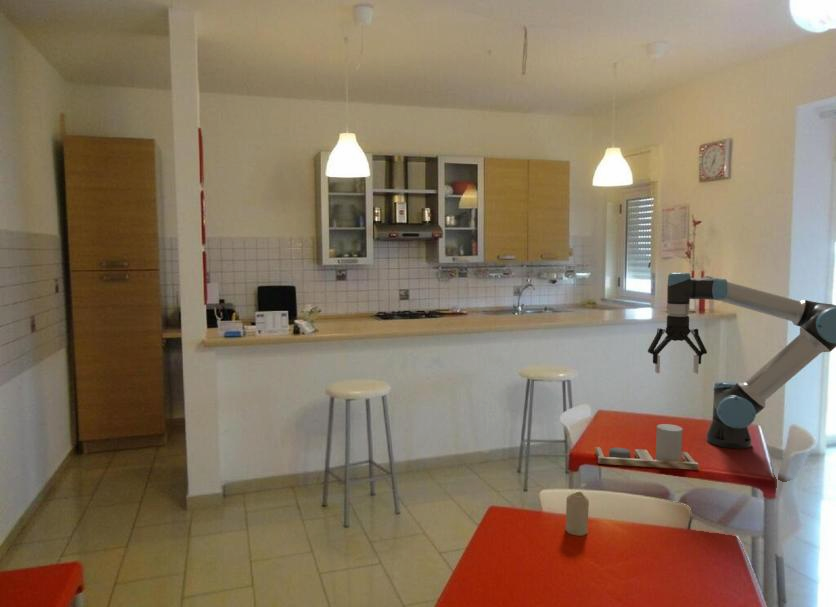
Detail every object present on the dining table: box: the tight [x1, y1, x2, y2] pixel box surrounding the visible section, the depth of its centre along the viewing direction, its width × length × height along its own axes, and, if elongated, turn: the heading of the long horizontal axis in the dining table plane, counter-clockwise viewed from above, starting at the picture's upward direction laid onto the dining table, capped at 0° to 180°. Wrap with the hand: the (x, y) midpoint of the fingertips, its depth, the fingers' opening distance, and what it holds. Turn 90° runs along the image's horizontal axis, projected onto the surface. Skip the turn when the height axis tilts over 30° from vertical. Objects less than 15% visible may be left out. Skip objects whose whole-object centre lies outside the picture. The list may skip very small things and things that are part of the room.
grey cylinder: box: [654, 423, 684, 461], centre depth 206 cm, size 8×8×12 cm
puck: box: [608, 447, 632, 458], centre depth 209 cm, size 7×7×3 cm
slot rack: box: [595, 446, 699, 471], centre depth 207 cm, size 32×12×2 cm, turn 81°
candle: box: [565, 491, 590, 537], centre depth 155 cm, size 6×6×10 cm
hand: (676, 372), depth 220 cm, fingers open, 13 cm apart
